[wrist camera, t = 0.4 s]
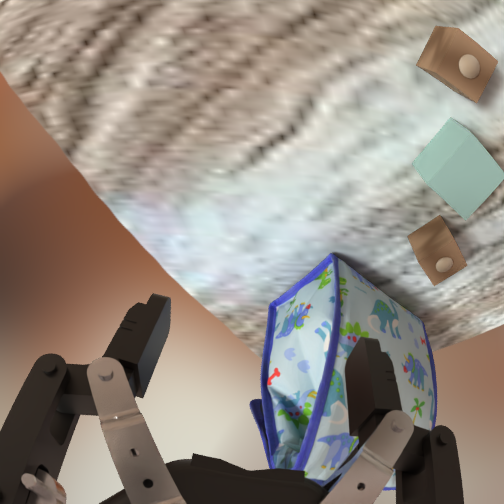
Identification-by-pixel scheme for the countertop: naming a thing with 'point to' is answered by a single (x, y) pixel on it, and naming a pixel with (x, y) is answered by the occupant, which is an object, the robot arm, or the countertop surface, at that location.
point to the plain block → (459, 168)
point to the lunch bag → (333, 367)
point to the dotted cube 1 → (437, 250)
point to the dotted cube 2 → (457, 62)
